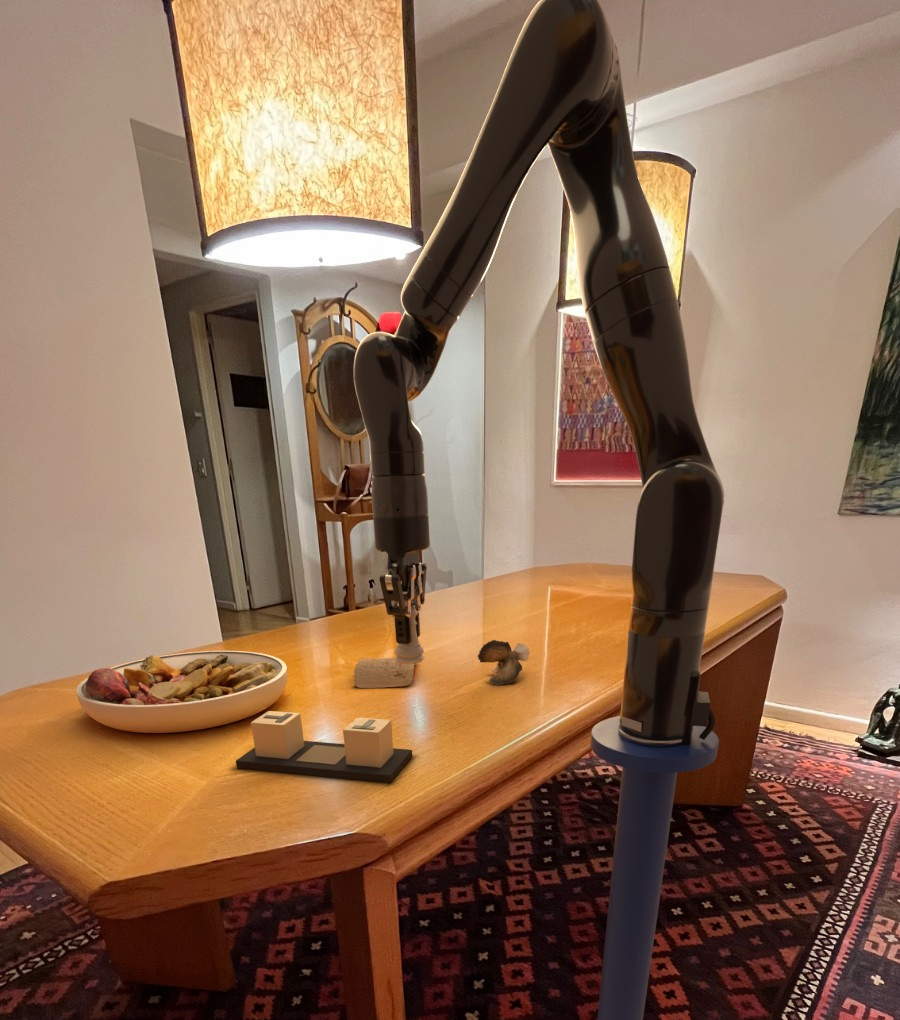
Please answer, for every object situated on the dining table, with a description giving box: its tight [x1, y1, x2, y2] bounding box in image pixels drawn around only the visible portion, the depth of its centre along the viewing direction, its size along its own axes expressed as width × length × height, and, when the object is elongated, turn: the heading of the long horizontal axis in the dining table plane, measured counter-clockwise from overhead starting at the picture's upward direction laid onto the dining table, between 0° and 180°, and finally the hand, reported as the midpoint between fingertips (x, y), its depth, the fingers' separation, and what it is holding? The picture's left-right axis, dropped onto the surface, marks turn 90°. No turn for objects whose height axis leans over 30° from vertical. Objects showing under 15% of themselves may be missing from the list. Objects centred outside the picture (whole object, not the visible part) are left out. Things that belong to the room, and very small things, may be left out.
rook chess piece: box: [394, 605, 425, 665], centre depth 98 cm, size 4×4×8 cm
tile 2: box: [342, 717, 394, 768], centre depth 80 cm, size 4×4×4 cm
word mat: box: [235, 740, 413, 784], centre depth 83 cm, size 20×8×1 cm, turn 75°
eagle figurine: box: [477, 639, 530, 686], centre depth 113 cm, size 8×7×9 cm
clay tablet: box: [353, 657, 416, 689], centre depth 117 cm, size 14×10×3 cm
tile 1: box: [250, 710, 305, 759], centre depth 83 cm, size 4×4×4 cm
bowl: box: [75, 650, 288, 734], centre depth 103 cm, size 30×30×8 cm
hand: (408, 639), depth 99 cm, fingers closed on rook chess piece, 3 cm apart
